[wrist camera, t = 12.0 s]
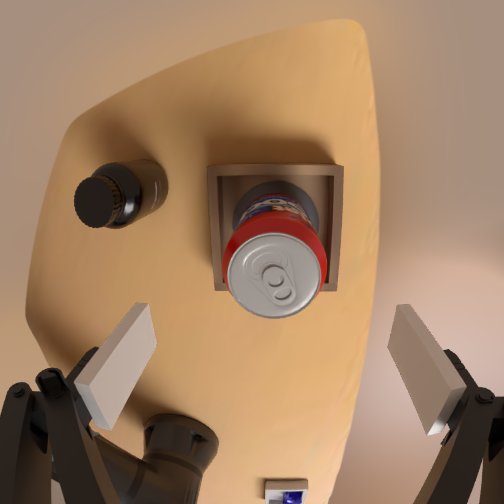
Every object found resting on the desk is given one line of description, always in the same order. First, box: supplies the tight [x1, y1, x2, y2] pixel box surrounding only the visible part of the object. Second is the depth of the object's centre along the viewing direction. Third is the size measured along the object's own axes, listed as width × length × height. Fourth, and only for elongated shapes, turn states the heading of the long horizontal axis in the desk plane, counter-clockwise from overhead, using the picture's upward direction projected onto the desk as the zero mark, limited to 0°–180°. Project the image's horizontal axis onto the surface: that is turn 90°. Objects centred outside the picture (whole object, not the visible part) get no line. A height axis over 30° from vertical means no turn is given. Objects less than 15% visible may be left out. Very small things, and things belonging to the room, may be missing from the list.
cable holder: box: [283, 491, 302, 504], centre depth 56 cm, size 8×4×4 cm, turn 163°
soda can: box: [222, 193, 327, 319], centre depth 28 cm, size 8×8×15 cm
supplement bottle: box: [74, 160, 168, 229], centre depth 30 cm, size 7×7×12 cm
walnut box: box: [207, 163, 344, 291], centre depth 34 cm, size 14×14×4 cm
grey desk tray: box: [265, 480, 308, 504], centre depth 57 cm, size 10×14×3 cm
